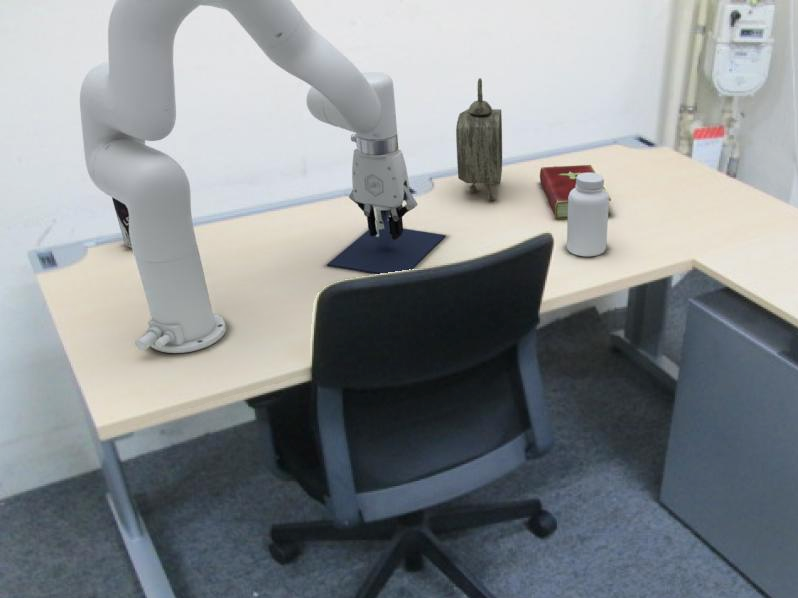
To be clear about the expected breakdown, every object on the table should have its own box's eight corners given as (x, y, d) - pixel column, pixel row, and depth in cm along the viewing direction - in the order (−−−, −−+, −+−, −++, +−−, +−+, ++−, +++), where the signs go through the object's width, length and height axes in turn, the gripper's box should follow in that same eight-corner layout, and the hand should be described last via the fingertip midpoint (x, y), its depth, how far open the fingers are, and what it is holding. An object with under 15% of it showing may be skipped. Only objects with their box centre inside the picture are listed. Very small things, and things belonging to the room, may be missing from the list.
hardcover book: (555, 219, 193) (555, 200, 190) (539, 183, 210) (539, 166, 207) (609, 216, 194) (611, 197, 192) (590, 181, 211) (590, 163, 209)
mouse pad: (402, 278, 169) (402, 276, 169) (327, 265, 173) (327, 263, 173) (445, 236, 185) (445, 234, 185) (375, 226, 189) (375, 224, 189)
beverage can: (125, 252, 178) (109, 194, 171) (125, 240, 182) (109, 183, 175) (156, 248, 179) (141, 190, 172) (155, 236, 184) (140, 180, 177)
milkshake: (396, 249, 176) (395, 201, 170) (370, 245, 177) (368, 197, 171) (403, 240, 180) (403, 192, 174) (378, 236, 180) (376, 188, 174)
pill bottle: (614, 248, 181) (618, 176, 172) (588, 261, 176) (591, 187, 167) (584, 237, 185) (587, 166, 177) (558, 249, 180) (560, 177, 172)
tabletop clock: (499, 204, 199) (497, 89, 185) (458, 204, 199) (453, 88, 185) (502, 181, 211) (500, 70, 197) (464, 180, 211) (459, 70, 197)
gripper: (327, 144, 166) (338, 236, 176) (410, 155, 162) (417, 249, 172) (347, 132, 172) (357, 222, 182) (427, 142, 168) (433, 234, 178)
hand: (386, 234), depth 177 cm, fingers closed on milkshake, 4 cm apart
